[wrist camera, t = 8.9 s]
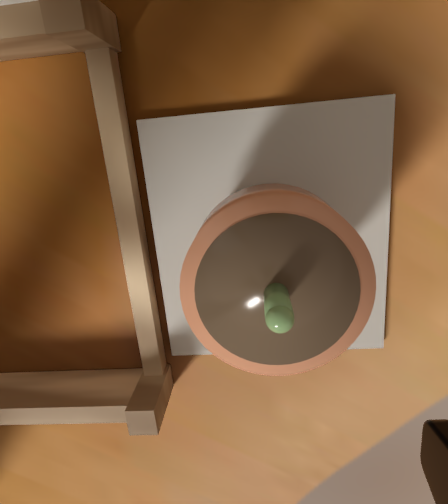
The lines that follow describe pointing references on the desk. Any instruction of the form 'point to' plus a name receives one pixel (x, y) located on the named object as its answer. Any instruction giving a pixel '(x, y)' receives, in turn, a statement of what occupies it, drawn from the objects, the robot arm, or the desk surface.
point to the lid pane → (13, 1)
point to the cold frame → (128, 225)
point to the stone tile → (269, 181)
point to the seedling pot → (277, 281)
